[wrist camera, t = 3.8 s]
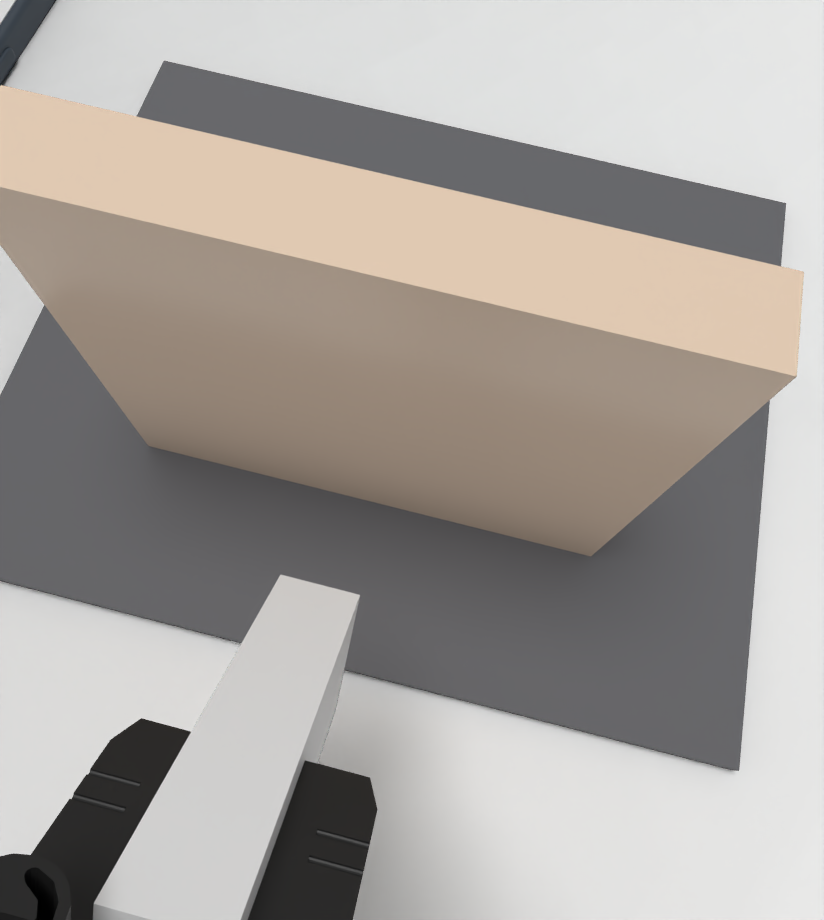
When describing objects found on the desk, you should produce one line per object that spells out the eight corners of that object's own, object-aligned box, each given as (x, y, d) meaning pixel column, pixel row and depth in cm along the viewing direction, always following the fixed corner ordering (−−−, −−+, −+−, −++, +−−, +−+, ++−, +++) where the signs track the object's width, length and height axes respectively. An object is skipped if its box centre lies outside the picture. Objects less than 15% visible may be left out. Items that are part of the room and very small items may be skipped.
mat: (-73, 561, 23) (-80, 558, 22) (166, 69, 30) (164, 60, 29) (732, 770, 22) (739, 770, 21) (780, 210, 29) (786, 203, 28)
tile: (148, 445, 24) (-52, 174, 13) (173, 381, 25) (8, 72, 13) (591, 556, 23) (796, 376, 12) (602, 486, 24) (805, 256, 13)
